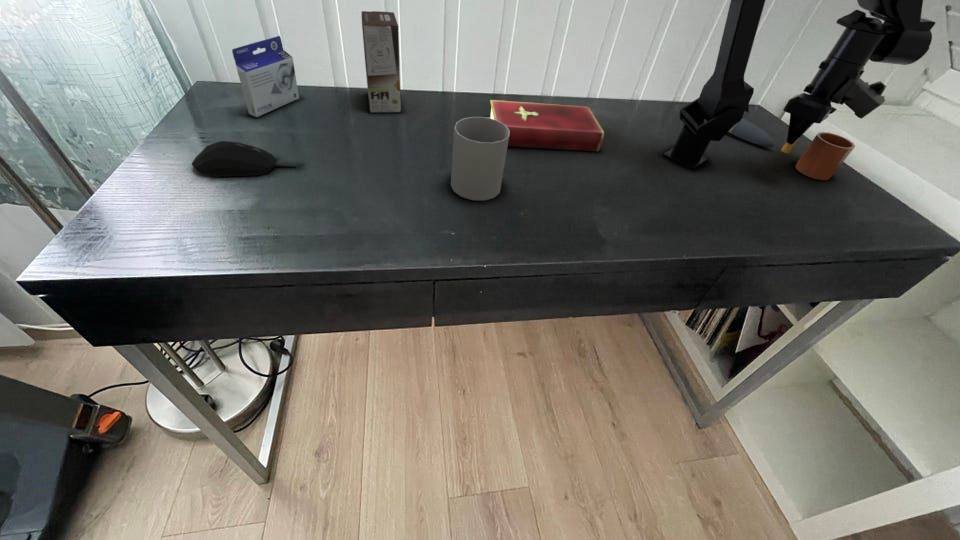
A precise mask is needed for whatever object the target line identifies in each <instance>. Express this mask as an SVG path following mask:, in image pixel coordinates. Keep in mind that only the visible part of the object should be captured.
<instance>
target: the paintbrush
mask: <svg viewBox="0 0 960 540" xmlns="http://www.w3.org/2000/svg"><path fill="white" fill-rule="evenodd" d="M704 120H705V119H704ZM705 121H706V120H705ZM706 122H707V121H706ZM728 133H729V134H731V135H732V136H735V137H737V138H738V139H740V140H743V141H745V142H749V143H751V144H755V145H757V146H761V147H766V148H771V147H772V148H773V147H774V146H775V145H776V142H775V141H774V139H773V138H772V137H771V135H769V134H768V133H767V132H766V131H764V130H763V129H762V128H760V127H758V126H757V125H756V124H753V123H752V122H751V121H749V120H746V119H745V118H742V119H741V121H740V122H739V123H736V124H735V125H734V126H733V127H732V128H731V130H730V131H729V132H728Z"/></svg>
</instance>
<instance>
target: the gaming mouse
mask: <svg viewBox="0 0 960 540" xmlns="http://www.w3.org/2000/svg"><path fill="white" fill-rule="evenodd" d="M191 166H192V167H193V169H194V170H195V171H196V172H198V173H200V174H201V175H205V176H206V175H207V176H213V177H238V176H239V177H242V176H244V177H245V176H260V175H264V174H267V173H270V171H272V170H273V169H275V167H281V168H284V167H288V168H297V164H293V163H285V162H278V160H277V159H276V157H275V156H274V155H273V154H272V153H270V152H269V151H267V150H265V149H263V148H260V147H257V146H254V145H250V144H247V143H246V144H245V143H242V142H239V141H228V140H222V141H221V140H220V141H216V142H214V143H211V144H209V145H206V146H205V147H204V148H203V149H202V150H201V151H200V152H199V153H198V155H196V156H195V158H194V159H193V161H192V163H191Z"/></svg>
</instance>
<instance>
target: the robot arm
mask: <svg viewBox="0 0 960 540" xmlns="http://www.w3.org/2000/svg"><path fill="white" fill-rule="evenodd" d="M766 1H767V0H730V3H729V7H728V11H727V15H726V19H725V24H724V27H723V33H722V36H721V42H720V45H719V49H718V53H717V58H716V62H715V67H714V71H713V73H712V75H711V76H710V77H709V79H708V80H707V81H706V82H705V84H704V85H703V87H702V89H701V90H700V95H699V97H698V98H696V99H694V100H693V101H692V102H690V103H688V104H687V105H685V106H684V107H682V108H680V110H679V117H678V118H679V121H681V122H682V123H683V126H682V128H681V130H680V133H679V135H678V136H677V138H676V141H675V143H674V145H673V148H670V149H669V150H668V151H665V152H664V153H663V157H665V158H666V159H669V160H671V161H672V162H675V163H677V164H679V165H681V166H683V167H684V168H686V169H689V170H695V169H697V168H698V167H699V166H701V165H703V164H704V163H705V162H706V161H707V160H708V158H707V157H705V156H704V154H705V153H706V150H707V149H708V147H709V145H710V143H711V142H720V141H721V140H722V139H723V138H724V137H725V136H726V135H727V134H729V133H730V132H729V131H730V130H731V128H732V127H733V126H734V125H735V124H736V123H739V122H740V121H741V119H744V115H745V113H749V112H750V108H749V106H750V102H751V100H752V98H753V95H754V93H755V92H754V91H755V88H754V87H753V86H751V85H750V84H749V83H747V82H746V80H745V74H746V71H747V67H748V63H749V60H750V57H751V53H752V51H753V45H754V43H755V40H756V35H757V32H758V28H759V25H760V22H761V17H762V14H763V11H764V7H765V4H766ZM856 2H857V4H858V6H859V7H860V8H862V9H863V10H865V11H868V13H869V15H870V16H867V13H866V12H864V11H862V10H860V9H855V10H853V11H852V12H850V13H848V14H845V15H843V16H842V17H840V18H838V19H837V20H836V24H837V25H839V26H842V27H844V30H843V31H842V33H841V35H840V36H839V38H838V39H837V41H836V43H835V44H834V45H833V47H832V49H831V50H830V52H829V53H828V54H827V57H826V58H825V59H824V60H822V61H821V62H820V63H819V66H818V70H817V72H816V73H815V75H814V76H813V77H812V79H811V81H810V82H809V84H807V85H806V86H805V87H804V88H803V90H802V93H799V94H797V95H794V96H792V97H791V98H789V99H788V101H787V103H786V104H785V106H784V108H783V109H782V110H783V112H785V113H787V114H789V124H788V129H787V136H786V142H787V143H789V144H793V143H794V142H795V141H796V140H797V139H798V138H799V139H800V138H801V137H802V136H803V135H804V134H805V133H806V132H807V131H808V130H809V129H810V128H811V127H812V126H813V125H814V124H821V123H822V122H824V121H825V120H826V119H828V118H829V117H830V115H831V114H833V113H834V112H836V111H837V109H838V108H836V107H833V106H832V103H833V104H837V105H845V106H847V108H849V109H850V110H851V111H852V112H853V113H854V115H855V116H856V117H857V118H859V119H863V118H865V117H867V116H868V115H869V114H870V113H872V112H873V111H875V110H876V109H877V108H879V107H880V106H882V105H883V104H884V103H885V102H886V99H885V98H886V96H885V95H883V93H884V92H885V90H886V88H887V85H885V84H884V83H883V82H882V81H881V80H879V81H875V82H872V83H869V82H868V81H864V79H862V78H861V77H862V76H863V74H864V73H865V70H864V69H865V66H866V65H867V63H868V62H869V61H871V62H875V63H882V64H892V65H902V66H906V65H907V66H908V65H911V64H914V63H916V62H917V61H919V60H920V59H922V58H923V57H924V56H925V55H926V54H927V52H929V50H930V46H931V43H932V40H933V33H932V31H931V30H932V29H933V28H934V26H935V25H936V21H933V20H931V19H928V18H923V17H922V11H923V4H924V0H856ZM882 21H883V22H882ZM704 119H705V120H706V121H707V122H706V121H705V120H704ZM799 139H798V140H799ZM798 140H797V141H798Z"/></svg>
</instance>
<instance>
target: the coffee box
mask: <svg viewBox="0 0 960 540" xmlns="http://www.w3.org/2000/svg"><path fill="white" fill-rule="evenodd" d="M361 29H362V30H361V31H362V42H363V53H364V64H365V65H364V66H365V75H366V77H365V78H366V86H367V95H368V106H369V111H370V113H400V112H401V110H402V103H401V101H402V100H401V74H400V73H401V72H400V69H401V68H400V67H401V66H400V38H399V35H400V34H399V24H398V21H397V17H396V15H395V12H393V11H377V10H376V11H375V10H373V11H368V10H367V11H365V10H362V11H361Z"/></svg>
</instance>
